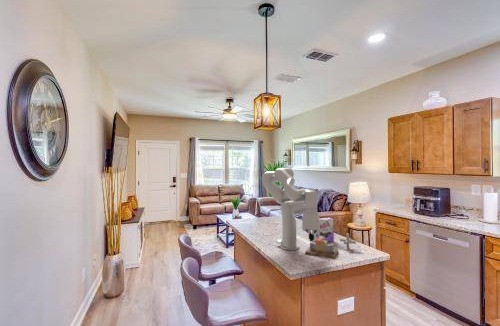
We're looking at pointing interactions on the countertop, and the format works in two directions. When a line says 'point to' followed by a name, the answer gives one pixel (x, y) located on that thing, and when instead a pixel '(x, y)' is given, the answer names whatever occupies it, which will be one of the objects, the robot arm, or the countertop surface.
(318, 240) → the lever
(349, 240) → the beige crossed-rod piece
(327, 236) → the candy box
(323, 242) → the ball valve
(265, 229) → the countertop surface
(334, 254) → the board
